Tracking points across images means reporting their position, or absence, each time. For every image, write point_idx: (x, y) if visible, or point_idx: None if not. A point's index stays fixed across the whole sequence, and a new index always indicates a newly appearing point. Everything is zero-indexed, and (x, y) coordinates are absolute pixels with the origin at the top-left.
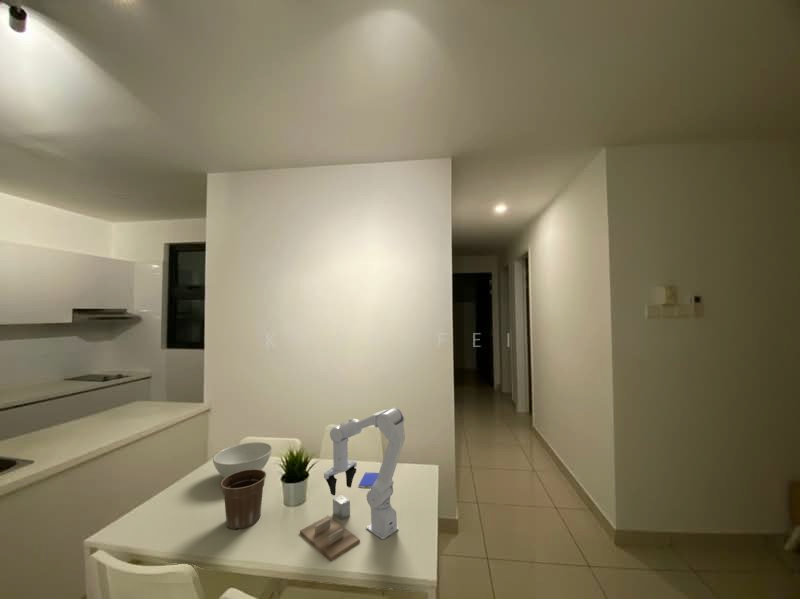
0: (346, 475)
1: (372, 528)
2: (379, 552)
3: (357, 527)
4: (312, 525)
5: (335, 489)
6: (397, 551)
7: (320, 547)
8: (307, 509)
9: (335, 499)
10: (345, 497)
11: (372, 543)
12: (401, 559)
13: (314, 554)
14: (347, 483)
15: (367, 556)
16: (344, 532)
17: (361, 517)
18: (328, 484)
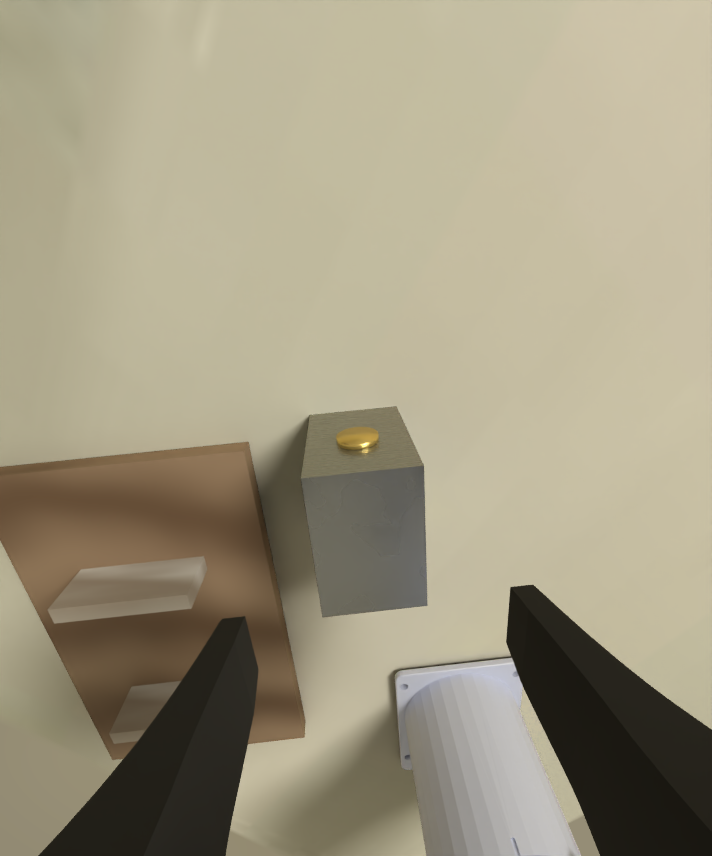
0: (626, 750)
1: (407, 722)
2: (339, 796)
3: (363, 635)
4: (82, 486)
5: (239, 776)
6: (401, 820)
7: (81, 688)
8: (120, 156)
9: (317, 512)
10: (424, 544)
11: (349, 751)
12: (382, 846)
13: (52, 675)
14: (531, 641)
15: (283, 790)
16: (260, 664)
17: (445, 577)
18: (113, 780)
